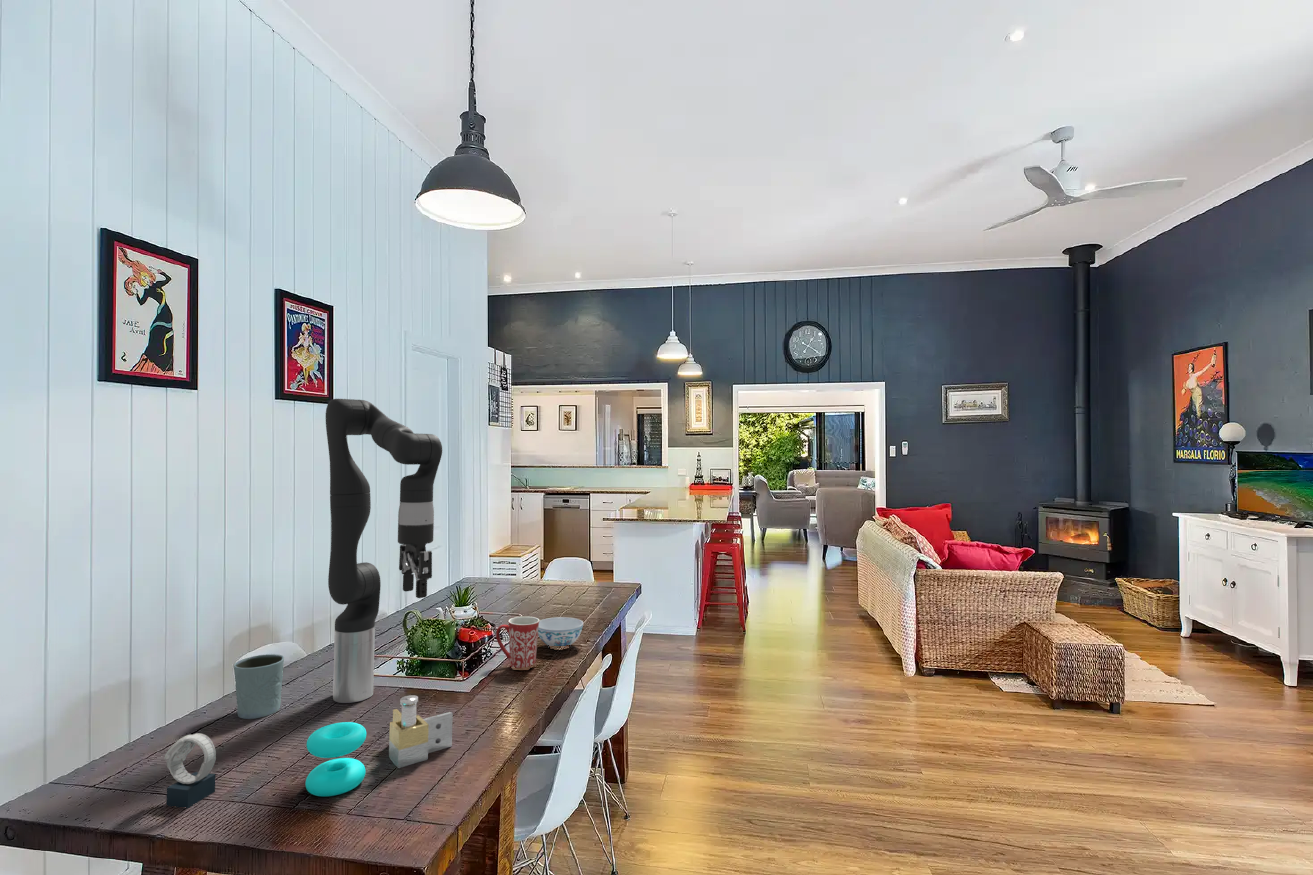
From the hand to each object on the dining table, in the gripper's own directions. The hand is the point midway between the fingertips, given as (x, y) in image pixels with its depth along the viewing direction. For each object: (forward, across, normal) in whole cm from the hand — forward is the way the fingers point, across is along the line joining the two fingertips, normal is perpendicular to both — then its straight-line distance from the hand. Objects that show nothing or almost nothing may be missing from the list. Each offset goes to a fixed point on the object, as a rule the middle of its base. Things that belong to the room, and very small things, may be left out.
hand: (414, 594), depth 141 cm
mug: (+30, +23, -38) cm, 54 cm away
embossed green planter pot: (+30, +32, +25) cm, 51 cm away
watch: (+30, -4, +40) cm, 50 cm away
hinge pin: (+30, -13, +5) cm, 33 cm away
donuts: (+30, -15, +19) cm, 39 cm away
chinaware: (+30, +31, -57) cm, 72 cm away
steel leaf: (+30, -13, +2) cm, 33 cm away
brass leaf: (+30, -10, +5) cm, 32 cm away
